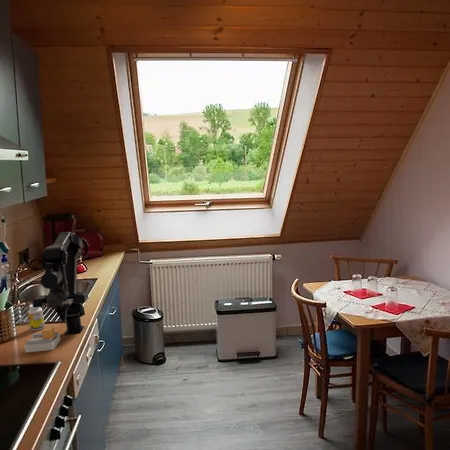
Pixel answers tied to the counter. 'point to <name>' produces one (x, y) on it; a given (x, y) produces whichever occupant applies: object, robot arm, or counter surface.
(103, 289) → the counter surface
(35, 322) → the supplement bottle
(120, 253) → the counter surface
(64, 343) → the counter surface
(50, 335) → the orange block
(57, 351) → the counter surface
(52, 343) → the grey stepped platform
